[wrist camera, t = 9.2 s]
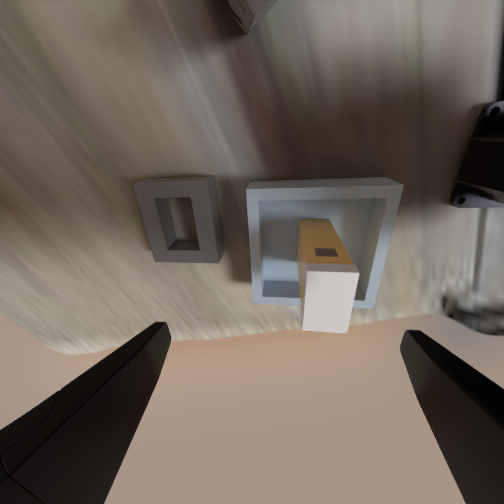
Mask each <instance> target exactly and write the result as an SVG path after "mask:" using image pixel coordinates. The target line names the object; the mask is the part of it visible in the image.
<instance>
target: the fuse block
mask: <svg viewBox="0 0 504 504" xmlns="http://www.w3.org/2000/svg"><path fill="white" fill-rule="evenodd" d="M132 184H133V188H134V191H135V195H136V198H137V202H138V205H139V208H140V212H141V215H142V219H143V222H144V226H145V229H146V233H147V236H148V240H149V243H150V246H151V250H152V253H153V257H154V260H155V262H186V263H219V262H220V260H221V258H222V256H223V254H224V247H223V239H222V231H221V223H220V215H219V207H218V199H217V191H216V183H215V176H201V177H173V178H146V179H143V180H140V181H137V182H134V183H132ZM181 197H191V202H192V208H193V213H194V219H195V225H196V230H197V236H198V241H177V239H176V234H175V230H174V225H173V221H172V216H171V212H170V208H169V203H168V199H167V198H181Z"/></svg>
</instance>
